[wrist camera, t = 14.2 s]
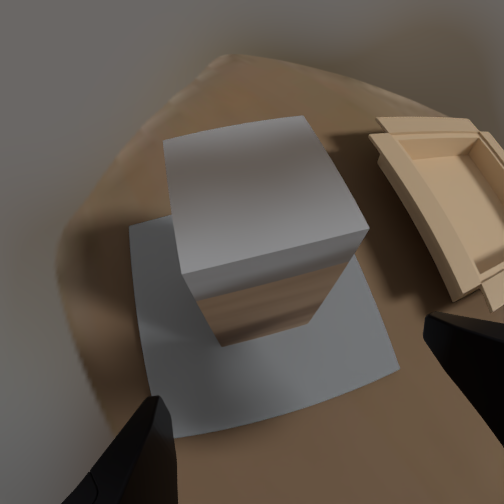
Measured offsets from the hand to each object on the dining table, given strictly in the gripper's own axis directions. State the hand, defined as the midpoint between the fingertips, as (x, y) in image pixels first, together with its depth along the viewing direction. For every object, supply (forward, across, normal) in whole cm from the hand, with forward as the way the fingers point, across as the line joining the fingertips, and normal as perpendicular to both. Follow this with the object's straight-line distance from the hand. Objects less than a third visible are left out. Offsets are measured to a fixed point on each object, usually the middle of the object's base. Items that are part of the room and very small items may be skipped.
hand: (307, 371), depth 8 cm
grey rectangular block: (+9, 0, +1) cm, 9 cm away
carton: (+11, -20, 0) cm, 23 cm away
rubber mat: (+9, 0, +2) cm, 10 cm away
